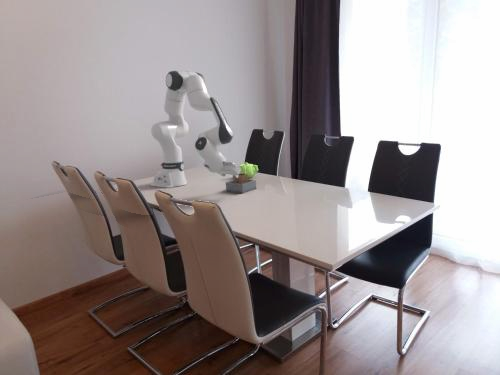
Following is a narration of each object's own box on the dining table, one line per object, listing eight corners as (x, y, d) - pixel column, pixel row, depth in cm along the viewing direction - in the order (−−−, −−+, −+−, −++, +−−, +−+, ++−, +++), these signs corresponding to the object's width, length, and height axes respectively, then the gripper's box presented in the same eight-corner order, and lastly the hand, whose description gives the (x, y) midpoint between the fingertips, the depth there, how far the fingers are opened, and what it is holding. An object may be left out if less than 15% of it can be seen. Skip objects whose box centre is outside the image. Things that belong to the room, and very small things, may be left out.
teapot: (259, 177, 260) (258, 162, 257) (244, 180, 254) (243, 165, 252) (249, 175, 269) (248, 160, 267) (234, 177, 264) (233, 162, 261)
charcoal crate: (226, 190, 230) (225, 182, 229) (239, 186, 239) (239, 178, 238) (242, 193, 223) (242, 184, 222) (256, 188, 232) (255, 180, 231)
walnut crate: (233, 189, 230) (232, 175, 229) (240, 186, 235) (239, 173, 233) (241, 190, 227) (241, 176, 225) (248, 187, 231) (247, 174, 229)
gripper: (235, 157, 208) (247, 173, 217) (205, 155, 220) (219, 169, 230) (229, 168, 205) (243, 183, 215) (200, 164, 218) (214, 179, 227)
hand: (230, 176), depth 222 cm, fingers open, 8 cm apart
